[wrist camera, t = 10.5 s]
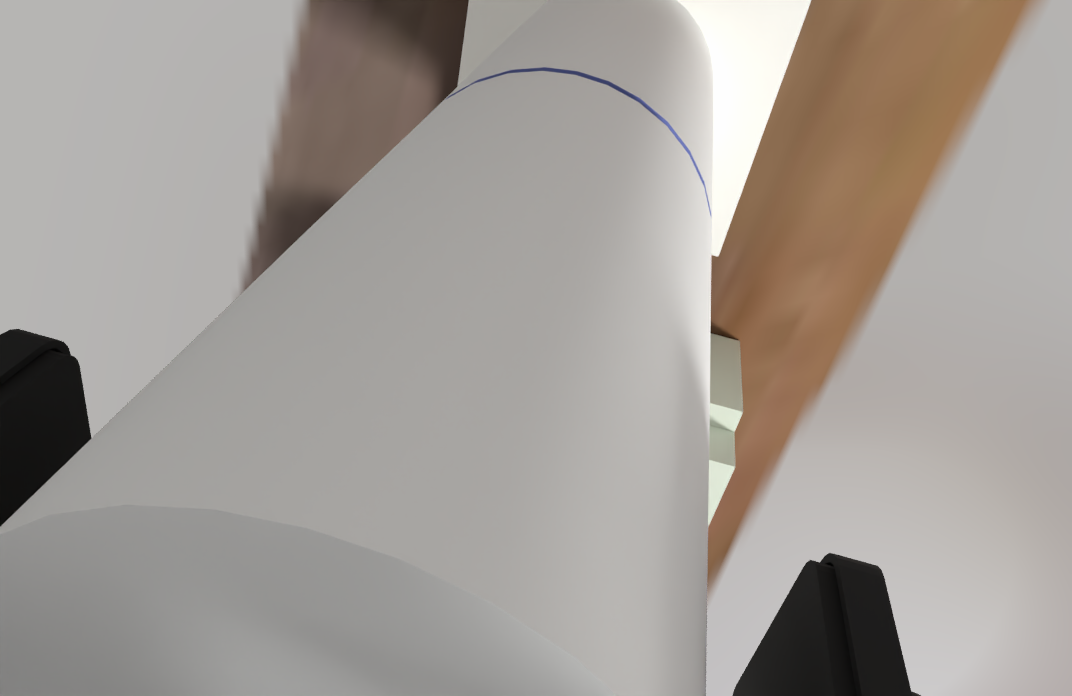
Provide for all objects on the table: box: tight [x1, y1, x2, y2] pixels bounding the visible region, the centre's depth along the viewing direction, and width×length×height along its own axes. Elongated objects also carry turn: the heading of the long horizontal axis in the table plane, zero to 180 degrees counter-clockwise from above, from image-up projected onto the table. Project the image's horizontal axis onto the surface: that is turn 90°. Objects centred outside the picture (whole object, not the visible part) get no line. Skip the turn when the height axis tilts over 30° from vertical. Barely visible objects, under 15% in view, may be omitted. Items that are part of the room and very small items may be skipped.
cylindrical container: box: [0, 0, 713, 696], centre depth 18 cm, size 7×7×25 cm
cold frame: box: [708, 333, 743, 526], centre depth 34 cm, size 15×15×9 cm
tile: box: [457, 0, 811, 256], centre depth 28 cm, size 11×11×1 cm
